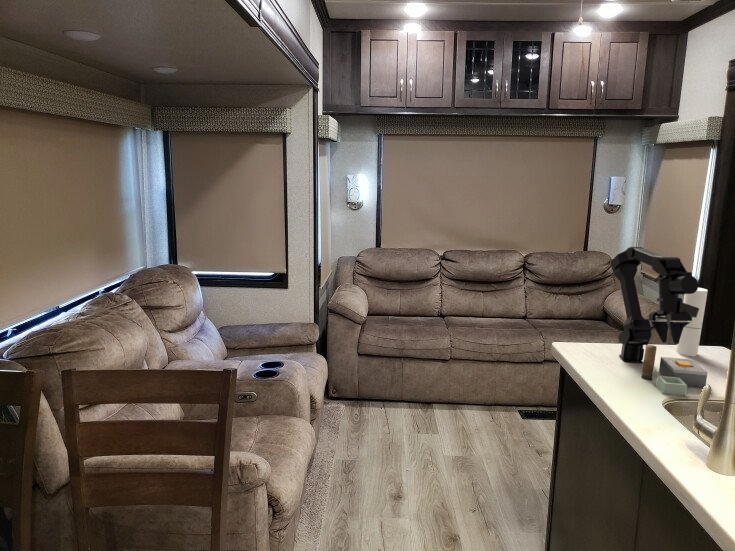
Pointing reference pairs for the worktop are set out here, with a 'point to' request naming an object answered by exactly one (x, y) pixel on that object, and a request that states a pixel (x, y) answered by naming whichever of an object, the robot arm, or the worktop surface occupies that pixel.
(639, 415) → the worktop surface
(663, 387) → the holder cup
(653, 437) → the worktop surface
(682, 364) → the button
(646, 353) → the brown rod
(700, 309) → the cylindrical container
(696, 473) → the worktop surface
